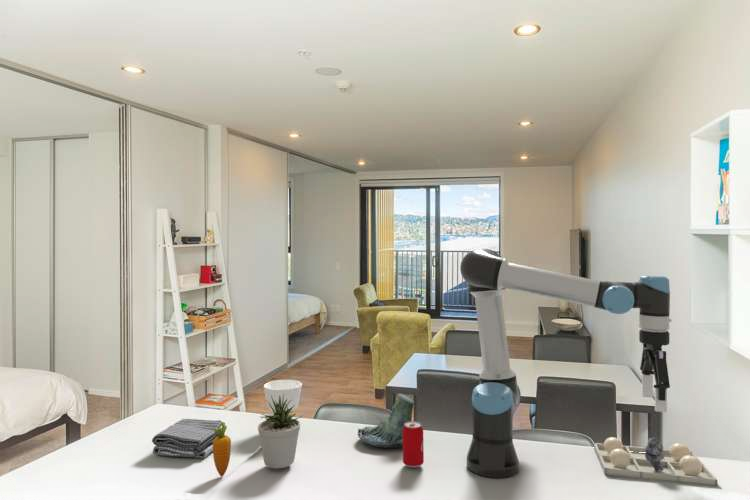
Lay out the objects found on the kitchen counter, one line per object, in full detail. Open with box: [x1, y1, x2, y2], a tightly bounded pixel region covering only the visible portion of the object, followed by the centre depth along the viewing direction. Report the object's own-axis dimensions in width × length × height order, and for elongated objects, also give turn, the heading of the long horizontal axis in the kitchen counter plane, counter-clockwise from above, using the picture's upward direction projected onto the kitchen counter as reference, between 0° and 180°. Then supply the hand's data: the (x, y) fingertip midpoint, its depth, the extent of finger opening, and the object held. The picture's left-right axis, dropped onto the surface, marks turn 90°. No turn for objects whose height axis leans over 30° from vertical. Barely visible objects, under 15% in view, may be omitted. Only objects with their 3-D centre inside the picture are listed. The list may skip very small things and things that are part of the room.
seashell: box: [645, 436, 665, 473], centre depth 141 cm, size 5×5×10 cm
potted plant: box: [257, 393, 304, 469], centre depth 149 cm, size 13×14×20 cm
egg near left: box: [610, 449, 630, 469], centre depth 143 cm, size 5×5×5 cm
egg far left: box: [603, 436, 624, 454], centre depth 152 cm, size 5×5×5 cm
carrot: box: [212, 421, 232, 478], centre depth 140 cm, size 5×5×15 cm
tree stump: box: [357, 393, 415, 449], centre depth 168 cm, size 18×20×18 cm
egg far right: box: [668, 442, 691, 462], centre depth 147 cm, size 5×5×5 cm
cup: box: [263, 379, 303, 416], centre depth 177 cm, size 14×14×16 cm
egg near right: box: [679, 455, 702, 476], centre depth 138 cm, size 5×5×5 cm
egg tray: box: [593, 442, 718, 487], centre depth 145 cm, size 28×19×2 cm
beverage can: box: [402, 420, 425, 468], centre depth 147 cm, size 6×6×12 cm
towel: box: [151, 418, 223, 459], centre depth 160 cm, size 15×18×8 cm
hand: (653, 403), depth 141 cm, fingers open, 13 cm apart
